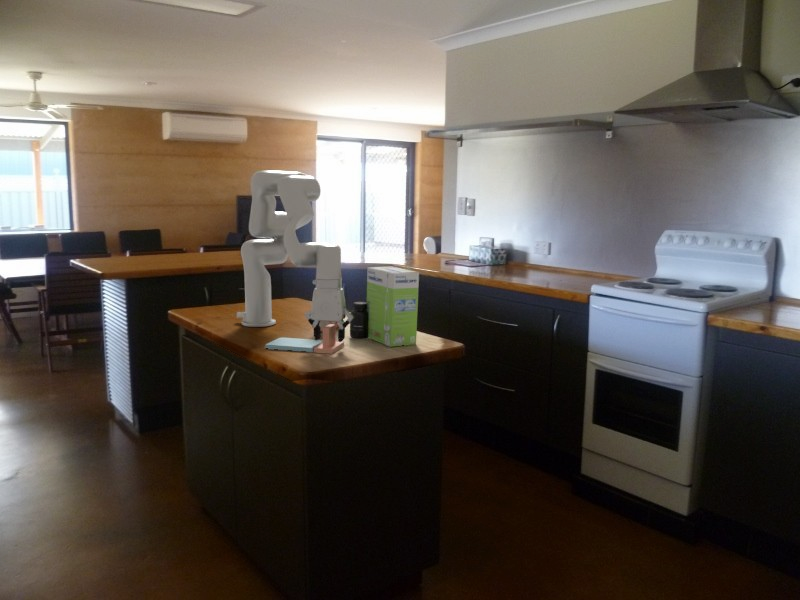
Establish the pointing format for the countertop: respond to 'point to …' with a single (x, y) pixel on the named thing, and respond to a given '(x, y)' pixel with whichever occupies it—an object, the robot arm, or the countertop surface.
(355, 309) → the supplement bottle
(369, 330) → the toothbrush box
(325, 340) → the stub
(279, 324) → the countertop surface
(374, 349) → the countertop surface
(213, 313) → the countertop surface
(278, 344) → the light blue flat slab
